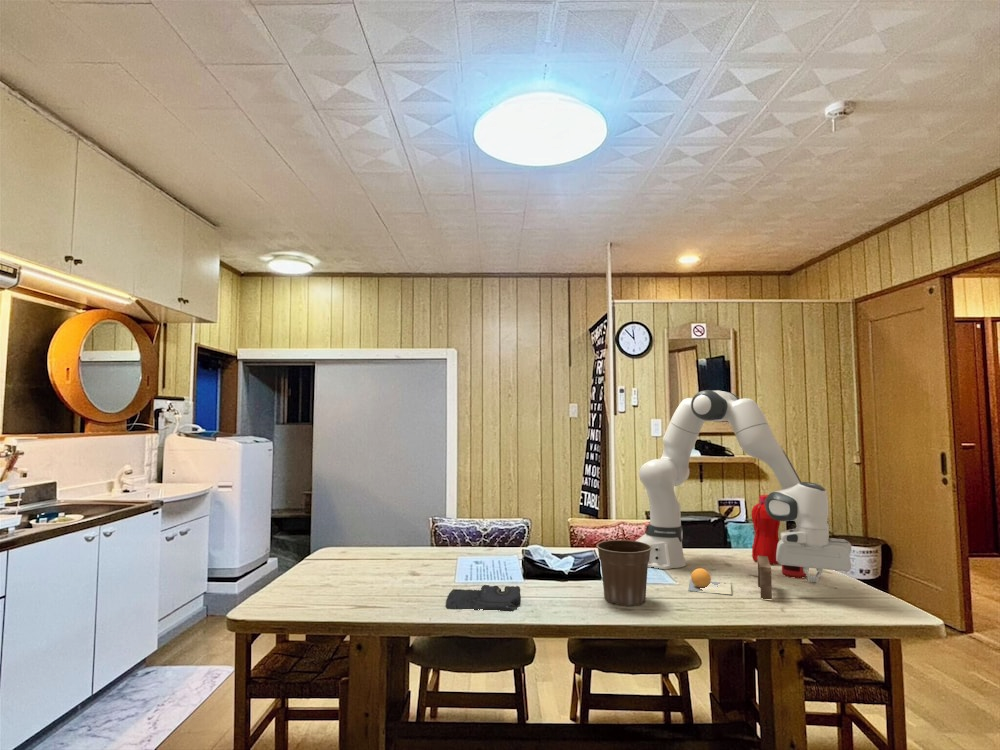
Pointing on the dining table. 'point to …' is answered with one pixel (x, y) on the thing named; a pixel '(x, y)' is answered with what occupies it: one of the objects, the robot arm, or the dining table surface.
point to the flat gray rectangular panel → (695, 588)
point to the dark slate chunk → (485, 598)
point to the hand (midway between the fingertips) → (812, 582)
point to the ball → (700, 578)
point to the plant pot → (624, 571)
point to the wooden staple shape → (764, 577)
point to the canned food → (793, 571)
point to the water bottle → (764, 532)
